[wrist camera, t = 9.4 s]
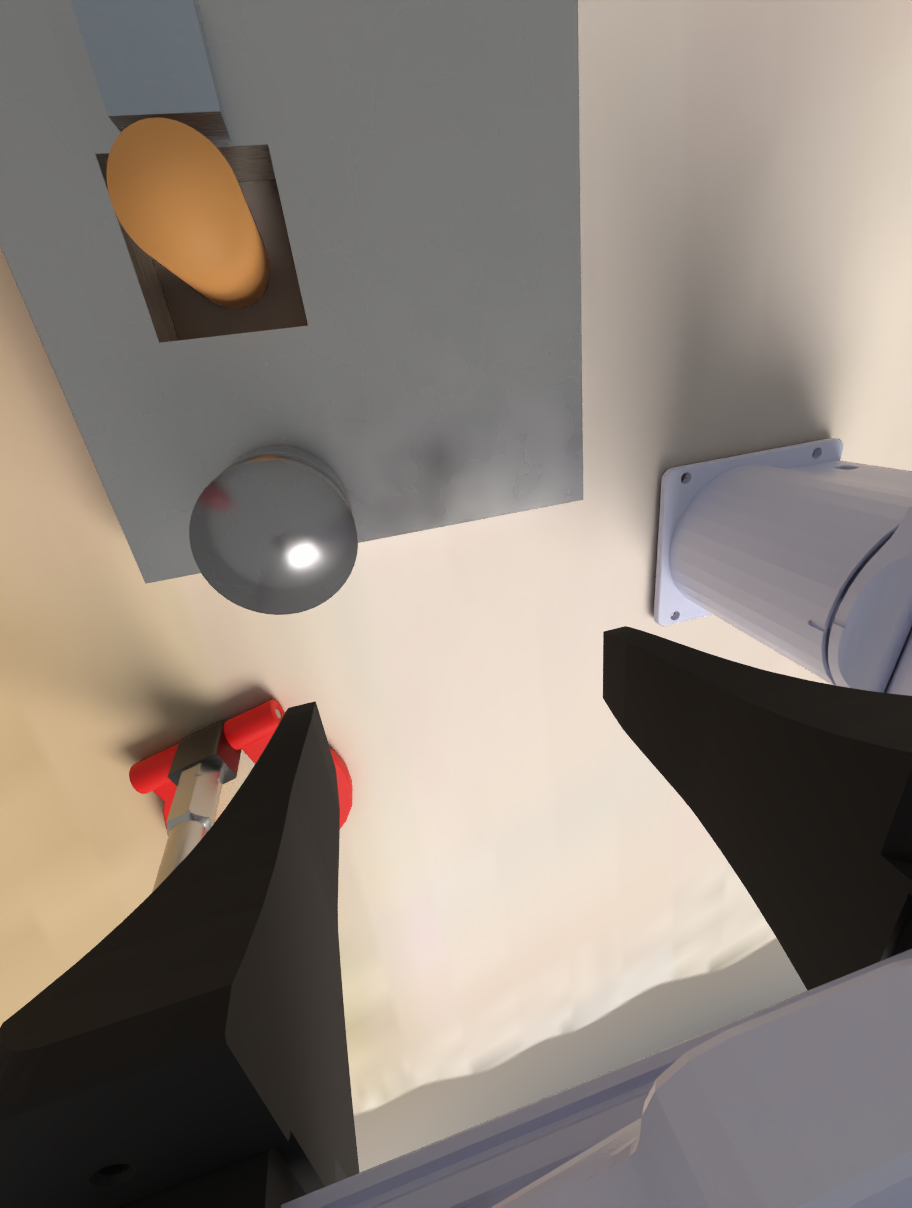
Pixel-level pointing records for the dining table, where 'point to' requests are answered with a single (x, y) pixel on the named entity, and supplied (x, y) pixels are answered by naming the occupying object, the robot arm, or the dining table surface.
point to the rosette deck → (311, 272)
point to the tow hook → (211, 777)
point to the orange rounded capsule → (187, 210)
